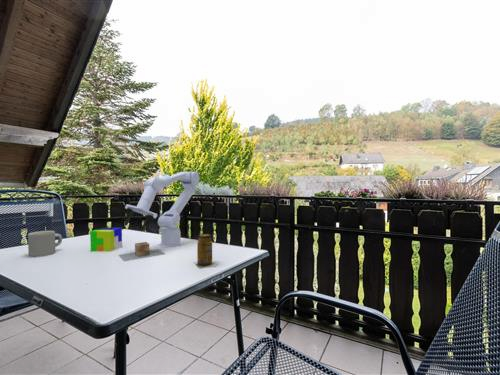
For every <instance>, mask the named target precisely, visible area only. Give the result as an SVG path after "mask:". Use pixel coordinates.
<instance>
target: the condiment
mask: <svg viewBox="0 0 500 375" xmlns="http://www.w3.org/2000/svg"><path fill="white" fill-rule="evenodd" d="M197 237H198V239H197V247H196V249H197V251H196V252H197V253H196V254H197V255H196V256H197V260H196V261H194V262H193V263H194V264H195V265H196V266H197V268H199V269H202V268H203V269H204V268H212V267H216V266H217V264H216V263H214V262H213V241H212V235H211V234H209V233H202V234H198V236H197Z"/></svg>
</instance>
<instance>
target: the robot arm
mask: <svg viewBox="0 0 500 375" xmlns="http://www.w3.org/2000/svg"><path fill="white" fill-rule="evenodd" d="M178 181H180V182H181V185H182V187H183V188H184V189H182V191H181V193H180V195H179V196H178V197H177V198H176V201H175V202H174V203H173V205H172V206H171V207H170V209H169V210H167V211H165V212H164V213H163V214H162V215H160V216H159V217H158V213H155V212H152V211H150V209H151V206H152V204H153V202H154V200H155V197H156V195H157V193H158V191H161V190H162V189H163V188H166V187H169V186H171V185H172V183H174V182H178ZM199 181H200V175H199V173H198V172H197V171H179V172H177V173H174V174H172V175H169V174H165V173H164V174H162V176H154V178H149V179H147V180H146V181H145V182H144V188H143V192H142V194H141V197H140V199H139V201H138V203H137V204H136V205H131V204H127V203H126V205H125V207H124V208H125V221H124V226H126V227H127V226H128V224H129V222H130V220H131V218H132V217H133V215H134V213H138V214H141V215H144V216H145V219H144V222H143V224H142V226H141V229H140V230H141V232H143V231H144V230H145V229H146V227H147V226H148V225H149V224H150V223H151V222H152V221H153V220H154V219H157V217H158V219H157V225H158V226H159V228H160V233H161V234H160V240H161V241H160V242H161V243H158V246H160V247H161V248H163V249H165V248H171V247H177V246H178V247H180V246H182V243H181V241H182V239H181V238H182V237H181V229H180V228H179V227H178V226H179V223H180V220H181V217H180V214H181V213H182V211H183V209H184V208H185V206H186V205H187V203H188V202H189V200H190V199H191V198H192V196H193V194H194V193H195V191H196V187H197V185H198V184H199Z"/></svg>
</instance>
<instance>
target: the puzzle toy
mask: <svg viewBox="0 0 500 375" xmlns="http://www.w3.org/2000/svg"><path fill="white" fill-rule="evenodd" d="M89 234H90V236H89V237H90V252H91V253H92V252H112V251H115V250H117V249H119V248H122V247H123V228H122V227H106V226H105V227H100V228H97V229H94V230H90V233H89Z"/></svg>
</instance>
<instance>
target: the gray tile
mask: <svg viewBox="0 0 500 375" xmlns="http://www.w3.org/2000/svg"><path fill="white" fill-rule="evenodd" d="M163 255H166V253H165V252H164V251H162V250H160V249H159V248H156V249H155V248H154V249H149V255H145V256H139V257H138V256H137V255H135V251H134V252H130V253H122V254H118V257H119V258H120V259H121V260H122V261H123V262H128V261H135V260H140V259H146V258H151V257H159V256H163Z"/></svg>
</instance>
